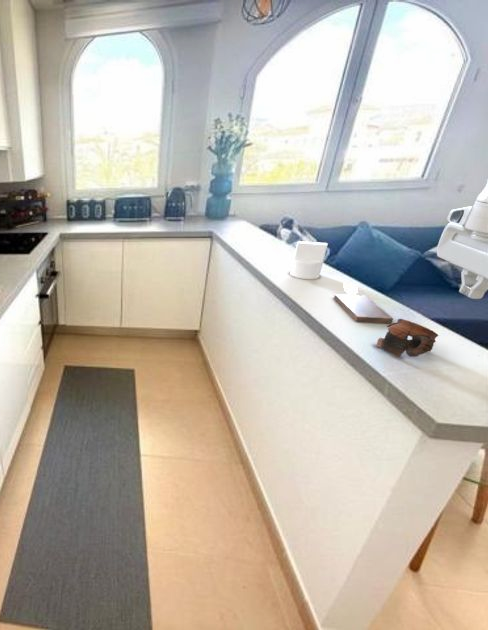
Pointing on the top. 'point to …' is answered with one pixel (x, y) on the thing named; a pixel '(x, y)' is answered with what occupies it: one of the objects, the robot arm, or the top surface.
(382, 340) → the pottery mug
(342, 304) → the cutting board
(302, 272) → the cylinder with rectangular tab
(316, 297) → the top surface
